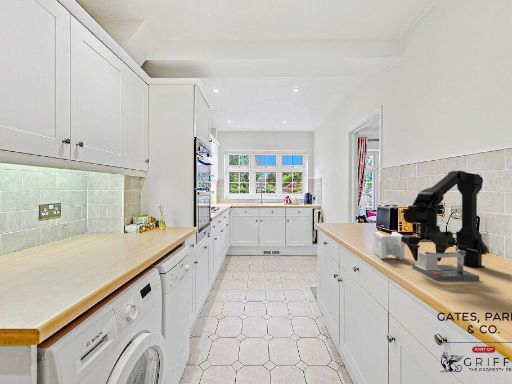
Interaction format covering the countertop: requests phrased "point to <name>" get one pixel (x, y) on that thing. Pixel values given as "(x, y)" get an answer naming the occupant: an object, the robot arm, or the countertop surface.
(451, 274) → the grey flat panel
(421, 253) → the light grey block
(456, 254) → the grey bracket
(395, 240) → the cable organizer
